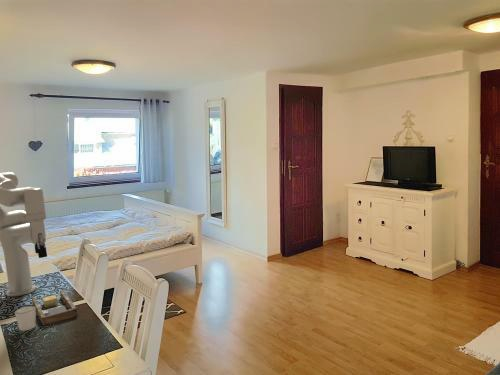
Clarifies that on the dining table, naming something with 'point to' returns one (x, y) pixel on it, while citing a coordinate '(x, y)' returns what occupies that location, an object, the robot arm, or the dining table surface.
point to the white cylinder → (26, 318)
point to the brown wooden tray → (57, 316)
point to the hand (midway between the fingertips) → (41, 254)
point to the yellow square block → (50, 301)
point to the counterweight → (56, 310)
